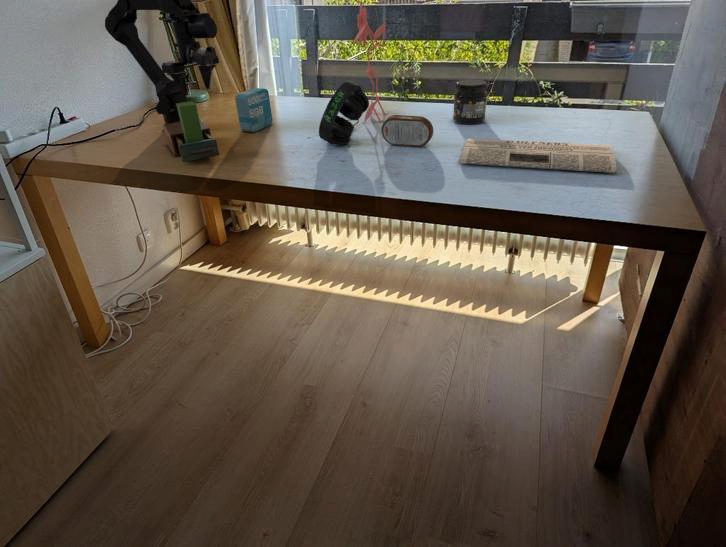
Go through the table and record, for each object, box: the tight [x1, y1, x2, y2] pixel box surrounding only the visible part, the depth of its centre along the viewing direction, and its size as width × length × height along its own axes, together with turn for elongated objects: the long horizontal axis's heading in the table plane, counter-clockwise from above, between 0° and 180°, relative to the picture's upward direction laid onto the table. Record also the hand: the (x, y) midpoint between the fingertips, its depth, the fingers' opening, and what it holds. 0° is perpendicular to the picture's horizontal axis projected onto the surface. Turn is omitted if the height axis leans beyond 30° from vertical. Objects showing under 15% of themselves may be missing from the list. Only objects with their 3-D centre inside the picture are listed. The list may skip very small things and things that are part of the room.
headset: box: [318, 79, 370, 147], centre depth 146 cm, size 18×14×29 cm
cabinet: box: [162, 118, 212, 157], centre depth 150 cm, size 13×11×6 cm
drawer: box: [174, 131, 220, 163], centre depth 141 cm, size 16×10×5 cm, turn 28°
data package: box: [234, 87, 273, 133], centre depth 163 cm, size 12×4×12 cm, turn 152°
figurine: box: [352, 3, 387, 123], centre depth 162 cm, size 15×26×35 cm, turn 168°
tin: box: [380, 114, 434, 148], centre depth 141 cm, size 15×3×8 cm, turn 71°
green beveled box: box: [176, 100, 204, 143], centre depth 139 cm, size 4×4×13 cm
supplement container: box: [452, 79, 488, 125], centre depth 159 cm, size 10×10×12 cm
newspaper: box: [459, 137, 617, 174], centre depth 129 cm, size 37×19×3 cm, turn 73°
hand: (197, 91), depth 158 cm, fingers open, 9 cm apart
